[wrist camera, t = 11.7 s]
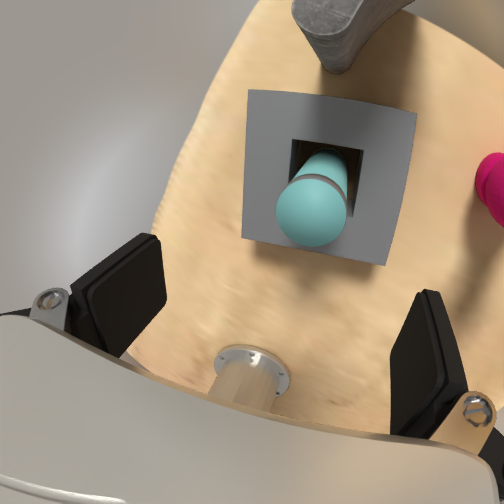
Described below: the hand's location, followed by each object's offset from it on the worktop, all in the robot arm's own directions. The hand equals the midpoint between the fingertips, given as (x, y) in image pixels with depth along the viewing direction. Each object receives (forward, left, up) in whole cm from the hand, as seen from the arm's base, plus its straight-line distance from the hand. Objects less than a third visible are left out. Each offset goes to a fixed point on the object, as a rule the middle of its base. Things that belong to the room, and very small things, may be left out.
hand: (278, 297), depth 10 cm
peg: (0, 0, -22) cm, 22 cm away
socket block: (0, 0, -22) cm, 22 cm away
